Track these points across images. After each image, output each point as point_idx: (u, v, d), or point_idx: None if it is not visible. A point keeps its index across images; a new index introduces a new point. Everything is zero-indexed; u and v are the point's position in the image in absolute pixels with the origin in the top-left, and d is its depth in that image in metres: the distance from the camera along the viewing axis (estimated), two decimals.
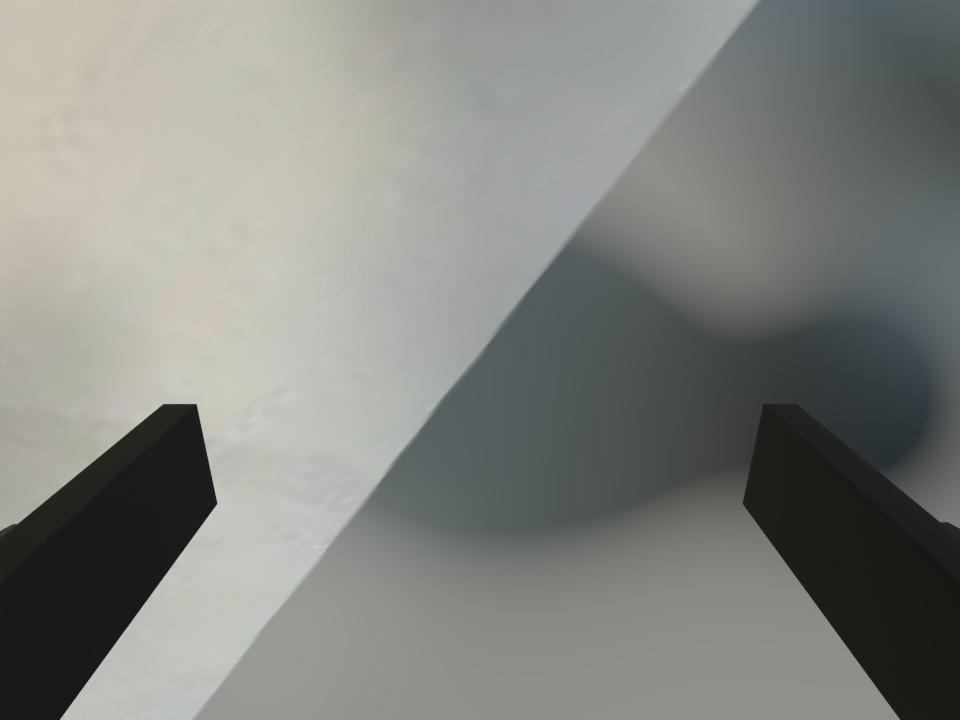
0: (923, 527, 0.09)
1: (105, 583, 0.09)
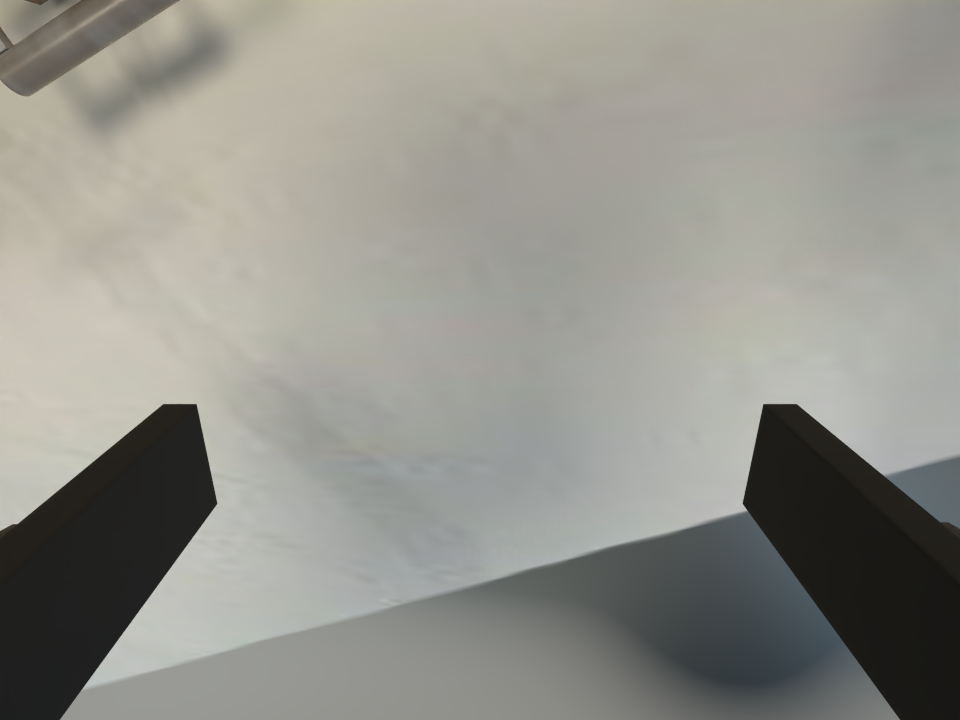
0: (923, 527, 0.09)
1: (105, 584, 0.09)
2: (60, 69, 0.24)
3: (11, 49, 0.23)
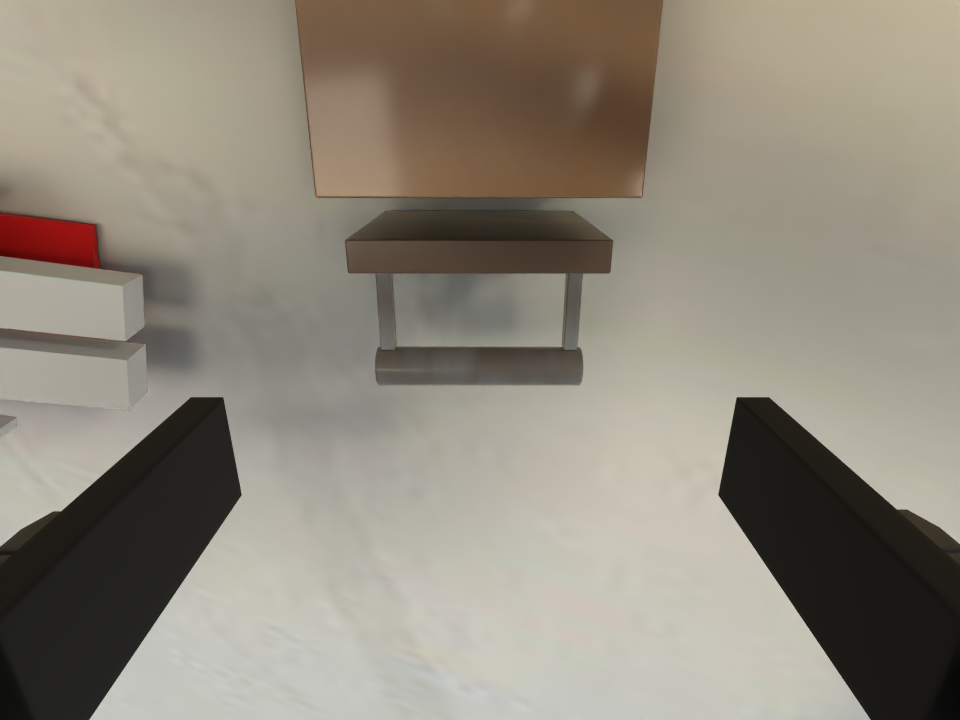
0: (878, 513, 0.09)
1: (143, 568, 0.10)
2: None
3: (402, 358, 0.23)
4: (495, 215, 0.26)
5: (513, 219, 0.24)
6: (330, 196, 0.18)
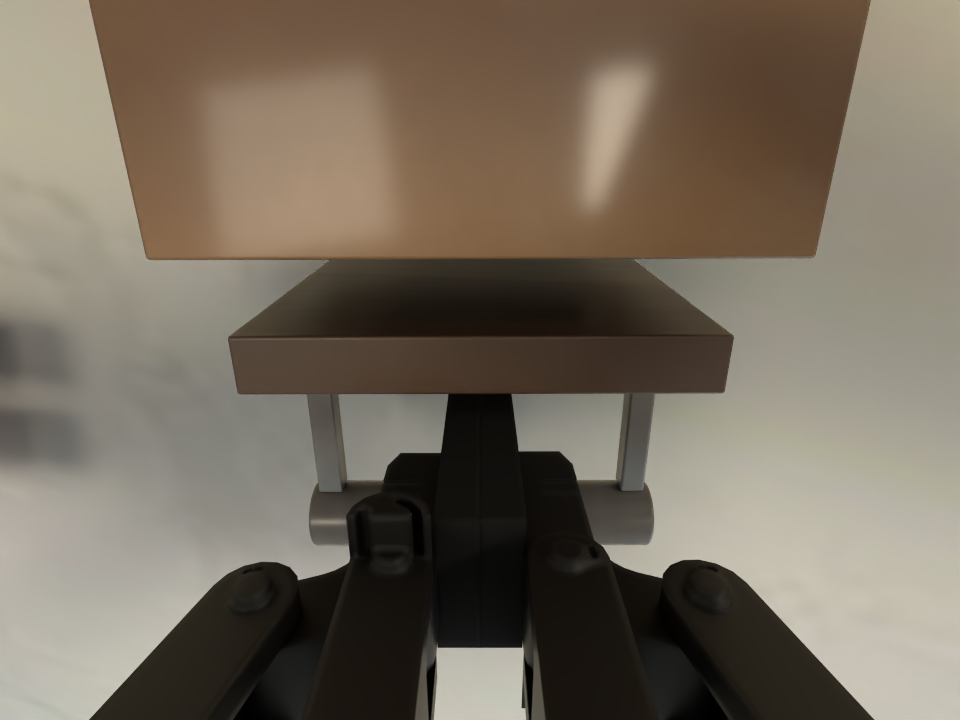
0: (500, 448, 0.11)
1: None
2: None
3: None
4: (505, 261, 0.17)
5: (535, 271, 0.15)
6: (176, 257, 0.09)
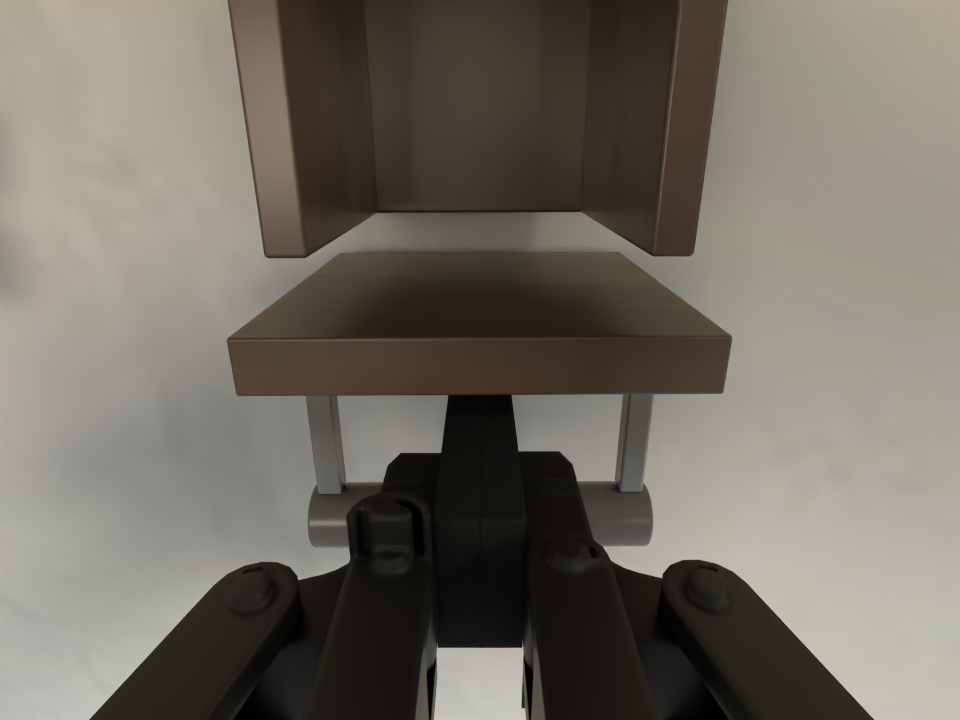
0: (501, 448, 0.11)
1: None
2: None
3: None
4: (504, 263, 0.17)
5: (533, 273, 0.15)
6: None
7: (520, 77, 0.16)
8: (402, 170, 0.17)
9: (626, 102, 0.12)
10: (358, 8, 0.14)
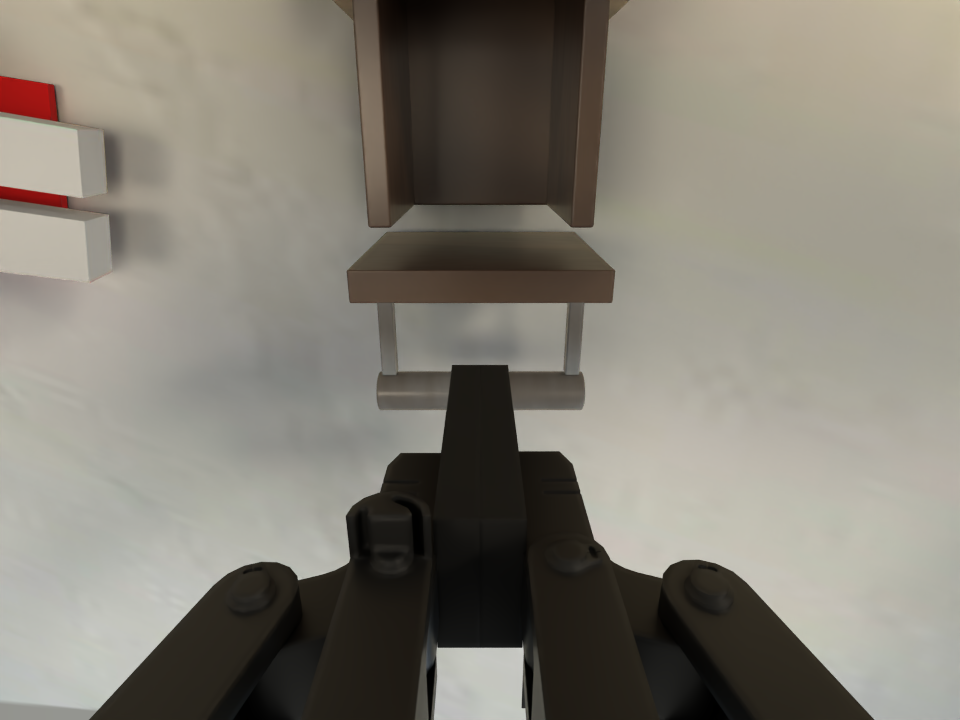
0: (501, 448, 0.11)
1: None
2: None
3: (404, 384, 0.23)
4: (496, 238, 0.26)
5: (514, 243, 0.24)
6: None
7: (507, 119, 0.25)
8: (431, 177, 0.26)
9: (563, 142, 0.21)
10: (407, 78, 0.23)
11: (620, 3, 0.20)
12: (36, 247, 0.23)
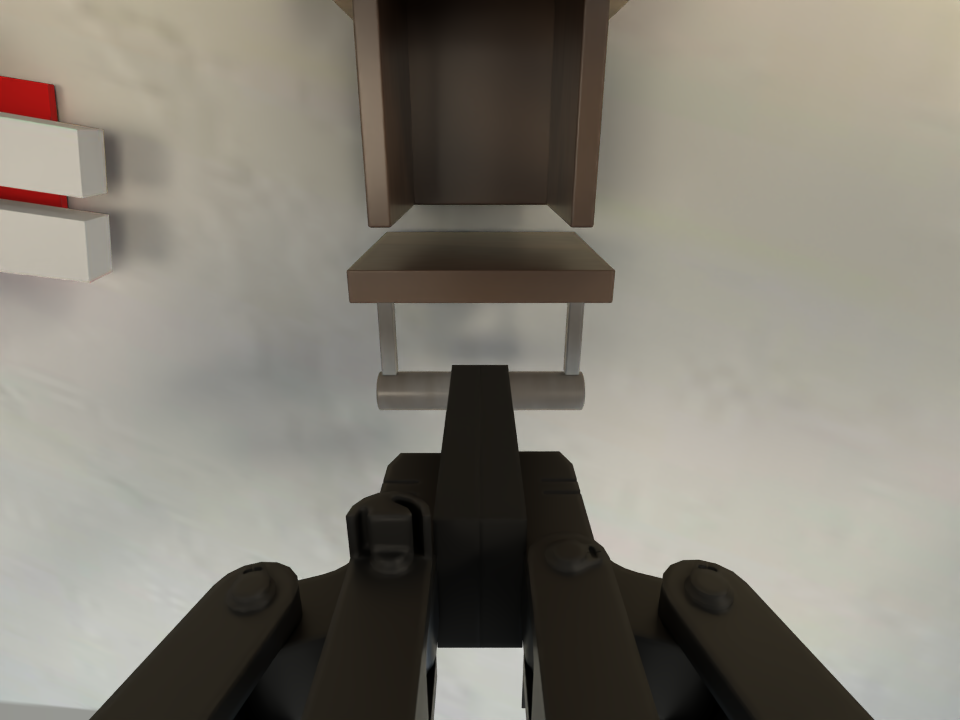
0: (501, 448, 0.11)
1: None
2: None
3: (404, 384, 0.23)
4: (496, 238, 0.26)
5: (514, 243, 0.24)
6: None
7: (507, 118, 0.25)
8: (431, 177, 0.26)
9: (563, 142, 0.21)
10: (407, 78, 0.23)
11: (620, 3, 0.20)
12: (36, 247, 0.23)
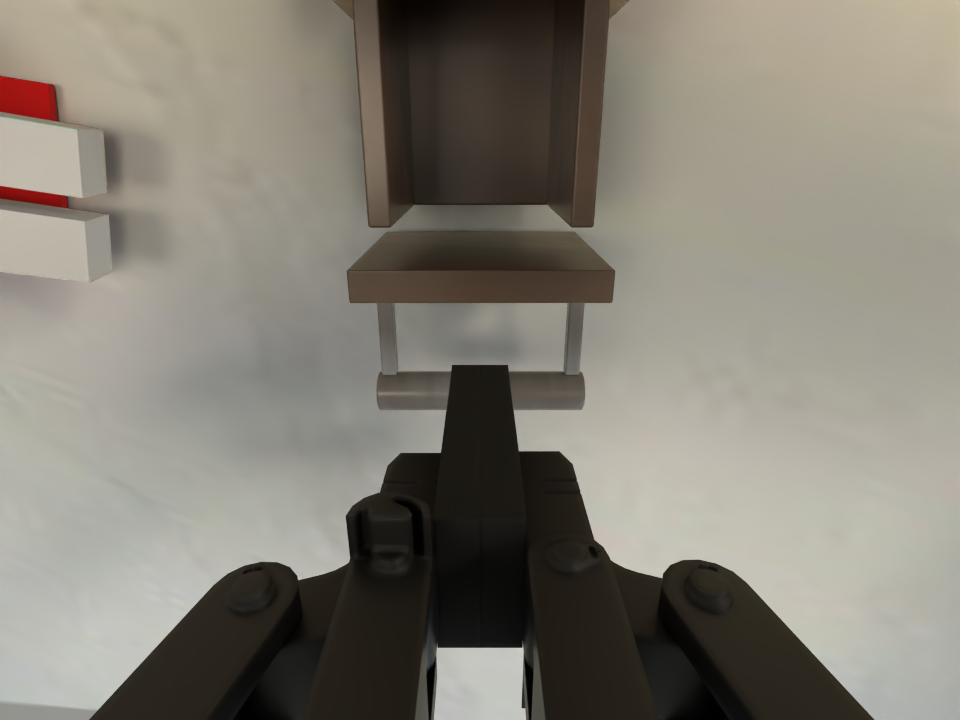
0: (501, 448, 0.11)
1: None
2: None
3: (404, 384, 0.23)
4: (496, 238, 0.26)
5: (514, 243, 0.24)
6: None
7: (507, 118, 0.25)
8: (431, 177, 0.26)
9: (563, 142, 0.21)
10: (407, 78, 0.23)
11: (620, 3, 0.20)
12: (36, 247, 0.23)
